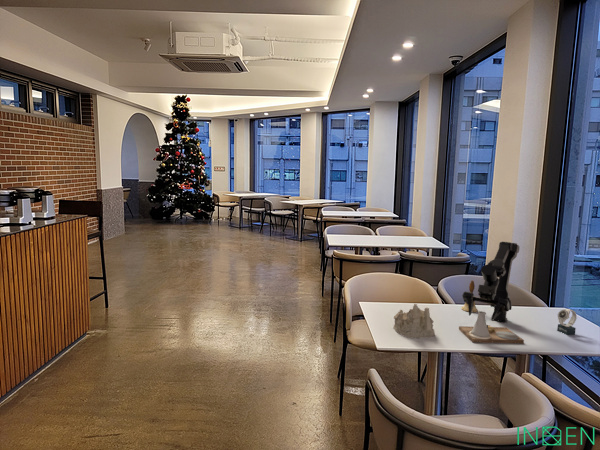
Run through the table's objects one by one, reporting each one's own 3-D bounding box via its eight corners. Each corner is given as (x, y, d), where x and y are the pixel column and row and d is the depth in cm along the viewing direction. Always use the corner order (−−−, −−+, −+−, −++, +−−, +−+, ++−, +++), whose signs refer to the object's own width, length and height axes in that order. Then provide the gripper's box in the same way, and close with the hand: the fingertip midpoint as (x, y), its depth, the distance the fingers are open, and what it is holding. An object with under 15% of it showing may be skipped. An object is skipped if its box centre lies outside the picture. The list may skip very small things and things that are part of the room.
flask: (492, 336, 182) (494, 314, 180) (480, 338, 179) (482, 315, 178) (479, 330, 188) (481, 309, 187) (467, 332, 185) (469, 310, 184)
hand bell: (475, 308, 227) (478, 279, 225) (479, 313, 219) (482, 283, 217) (459, 306, 228) (461, 278, 226) (463, 311, 220) (465, 282, 218)
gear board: (458, 329, 194) (459, 321, 193) (506, 330, 194) (506, 322, 194) (472, 342, 179) (473, 334, 179) (523, 343, 179) (524, 335, 179)
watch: (553, 330, 196) (556, 308, 194) (568, 329, 198) (570, 307, 196) (563, 335, 190) (566, 311, 189) (578, 334, 192) (581, 311, 191)
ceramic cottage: (439, 336, 184) (439, 303, 183) (405, 340, 180) (405, 306, 179) (421, 326, 199) (421, 295, 198) (389, 329, 195) (389, 297, 194)
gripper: (465, 273, 189) (455, 303, 182) (510, 281, 178) (501, 313, 170) (469, 287, 196) (459, 316, 189) (513, 295, 185) (504, 326, 177)
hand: (480, 317), depth 181 cm, fingers open, 9 cm apart
